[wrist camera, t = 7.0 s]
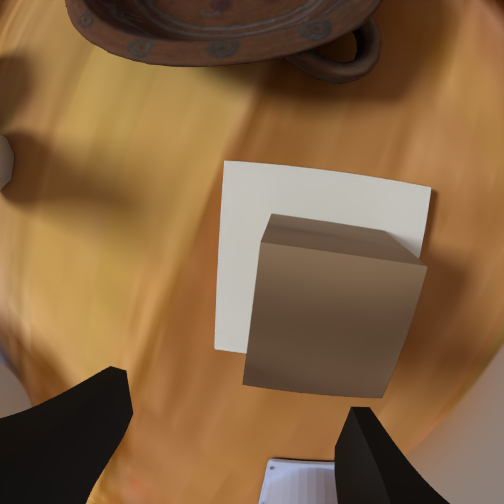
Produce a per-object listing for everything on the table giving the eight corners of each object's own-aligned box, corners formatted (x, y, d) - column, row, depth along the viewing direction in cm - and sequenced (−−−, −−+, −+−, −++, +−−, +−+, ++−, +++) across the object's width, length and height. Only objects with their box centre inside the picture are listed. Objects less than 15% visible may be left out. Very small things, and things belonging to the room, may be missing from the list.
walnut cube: (359, 331, 18) (382, 398, 12) (257, 318, 18) (242, 384, 12) (384, 230, 16) (427, 266, 10) (271, 213, 16) (260, 242, 11)
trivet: (386, 358, 19) (389, 365, 18) (217, 342, 20) (214, 348, 19) (425, 186, 16) (431, 187, 15) (227, 160, 17) (224, 160, 16)
